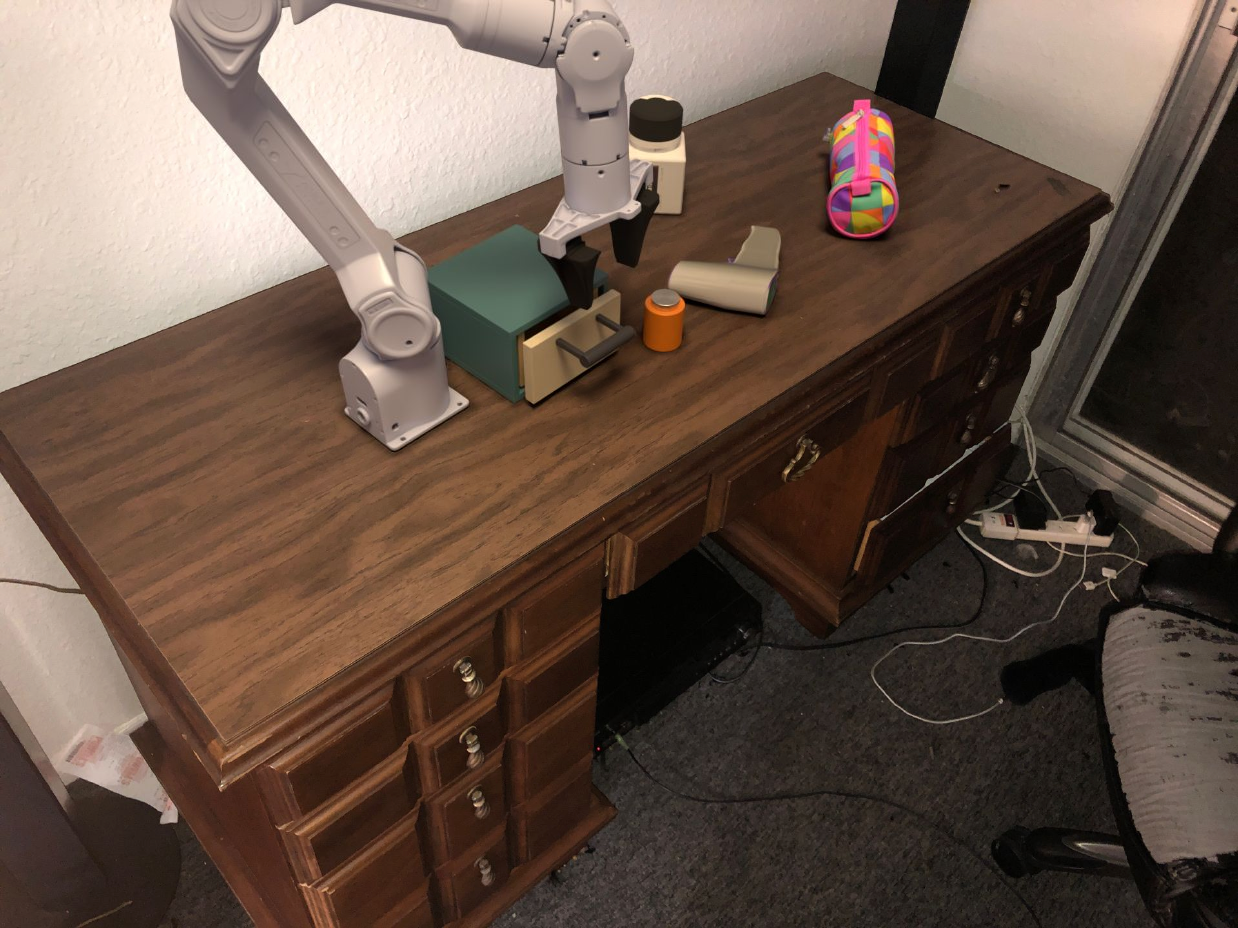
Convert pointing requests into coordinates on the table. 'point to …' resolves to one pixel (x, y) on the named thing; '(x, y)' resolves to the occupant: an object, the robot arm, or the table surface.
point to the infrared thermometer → (734, 275)
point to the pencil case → (862, 173)
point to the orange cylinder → (663, 320)
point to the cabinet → (496, 304)
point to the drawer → (569, 344)
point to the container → (660, 147)
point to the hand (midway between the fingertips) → (604, 284)
